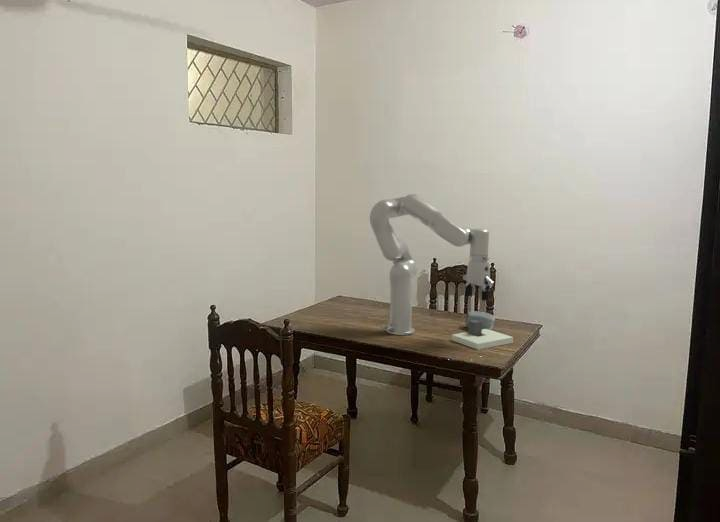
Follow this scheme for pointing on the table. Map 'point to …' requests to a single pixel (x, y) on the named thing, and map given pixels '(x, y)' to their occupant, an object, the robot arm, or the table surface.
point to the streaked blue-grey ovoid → (481, 319)
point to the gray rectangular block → (475, 328)
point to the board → (482, 339)
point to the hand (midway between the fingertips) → (476, 298)
